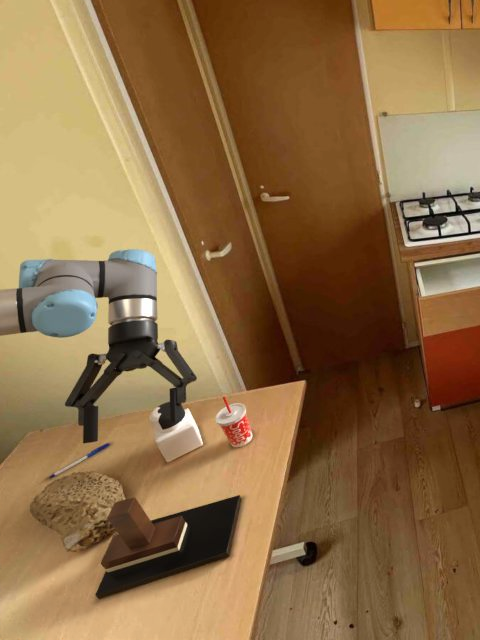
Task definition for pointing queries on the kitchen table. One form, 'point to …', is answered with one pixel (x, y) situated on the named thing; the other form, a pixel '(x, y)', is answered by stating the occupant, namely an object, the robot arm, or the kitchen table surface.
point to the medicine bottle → (174, 432)
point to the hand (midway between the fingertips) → (134, 432)
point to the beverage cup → (234, 424)
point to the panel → (182, 547)
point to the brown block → (139, 536)
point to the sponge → (78, 508)
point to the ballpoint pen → (81, 459)
